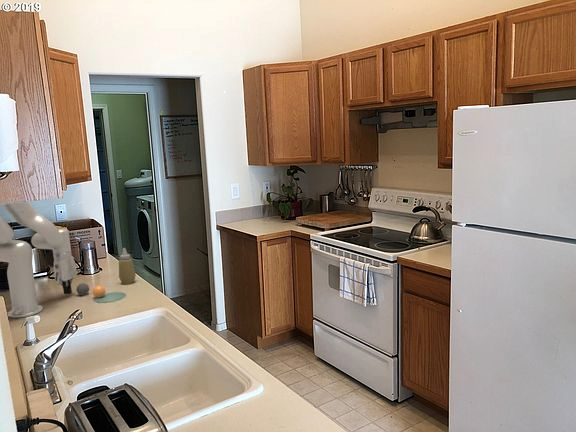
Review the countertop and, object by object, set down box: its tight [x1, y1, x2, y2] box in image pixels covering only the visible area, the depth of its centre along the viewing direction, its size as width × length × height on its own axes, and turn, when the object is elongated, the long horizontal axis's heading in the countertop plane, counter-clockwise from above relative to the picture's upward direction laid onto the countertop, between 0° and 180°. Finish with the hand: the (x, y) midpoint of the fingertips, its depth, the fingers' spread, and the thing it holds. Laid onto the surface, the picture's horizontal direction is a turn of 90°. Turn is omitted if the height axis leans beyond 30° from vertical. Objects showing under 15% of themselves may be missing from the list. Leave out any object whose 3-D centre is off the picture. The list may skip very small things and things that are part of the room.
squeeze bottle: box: [118, 247, 136, 285], centre depth 237 cm, size 8×8×18 cm
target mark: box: [93, 291, 127, 304], centre depth 216 cm, size 14×14×1 cm
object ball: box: [92, 285, 106, 298], centre depth 217 cm, size 6×6×6 cm
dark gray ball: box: [76, 282, 90, 296], centre depth 222 cm, size 6×6×6 cm
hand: (67, 293), depth 221 cm, fingers closed
